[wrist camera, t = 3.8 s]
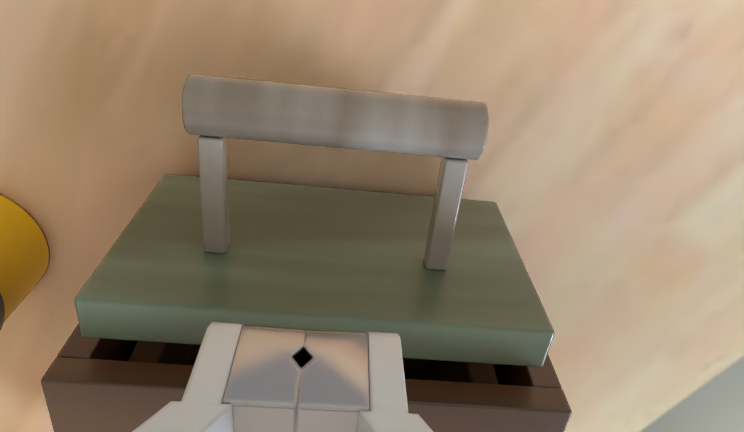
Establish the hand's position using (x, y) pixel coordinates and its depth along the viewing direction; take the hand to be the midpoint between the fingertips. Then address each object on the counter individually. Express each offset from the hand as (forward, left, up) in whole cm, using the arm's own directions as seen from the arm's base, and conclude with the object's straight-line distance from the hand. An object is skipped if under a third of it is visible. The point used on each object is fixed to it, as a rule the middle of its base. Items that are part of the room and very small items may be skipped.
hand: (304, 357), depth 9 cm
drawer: (0, +6, -10) cm, 12 cm away
